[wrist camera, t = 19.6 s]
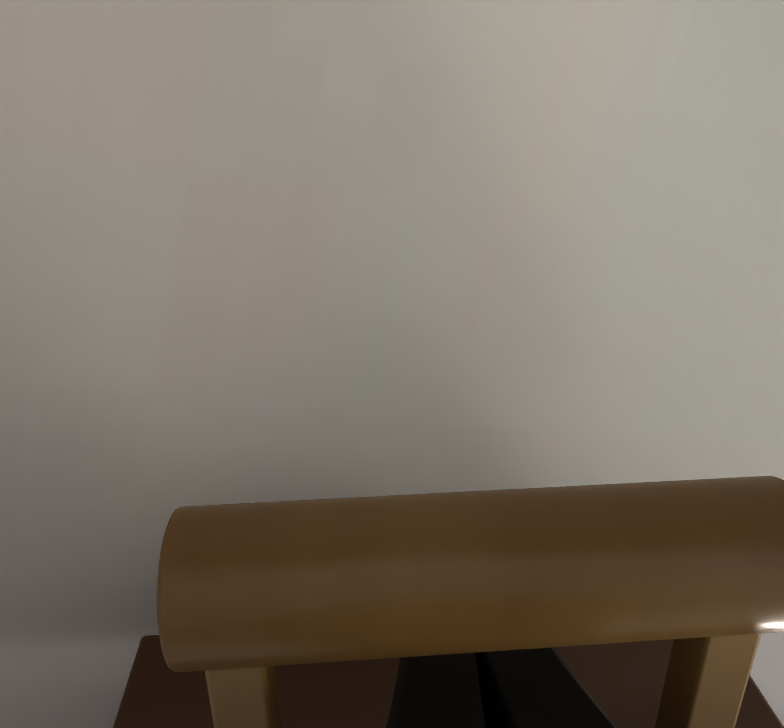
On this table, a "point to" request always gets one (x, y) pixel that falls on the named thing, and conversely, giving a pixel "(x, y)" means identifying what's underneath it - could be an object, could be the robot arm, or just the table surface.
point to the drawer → (465, 601)
